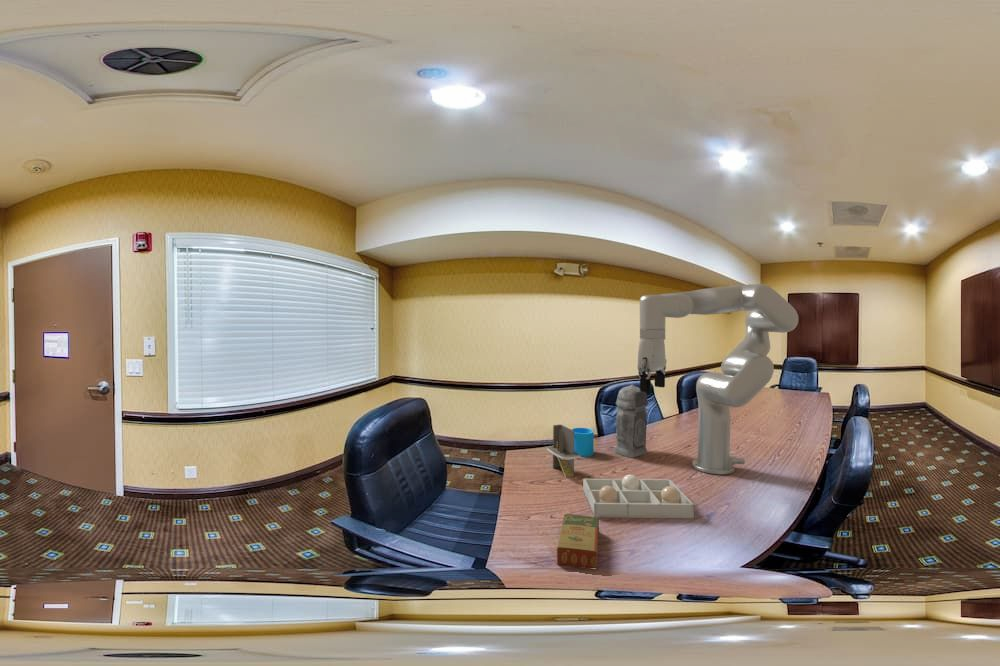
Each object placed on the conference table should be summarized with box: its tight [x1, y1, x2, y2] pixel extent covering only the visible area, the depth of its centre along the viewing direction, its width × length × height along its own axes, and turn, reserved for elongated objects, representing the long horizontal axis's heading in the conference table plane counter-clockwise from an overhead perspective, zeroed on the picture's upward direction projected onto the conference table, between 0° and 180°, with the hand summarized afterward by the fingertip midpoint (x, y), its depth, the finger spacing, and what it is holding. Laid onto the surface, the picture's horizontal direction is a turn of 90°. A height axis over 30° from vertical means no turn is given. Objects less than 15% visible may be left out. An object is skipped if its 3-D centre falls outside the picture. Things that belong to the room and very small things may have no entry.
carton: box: [556, 513, 600, 569], centre depth 100 cm, size 8×16×4 cm, turn 167°
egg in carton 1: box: [599, 486, 617, 503], centre depth 118 cm, size 5×5×6 cm
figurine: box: [613, 384, 649, 459], centre depth 165 cm, size 10×14×25 cm
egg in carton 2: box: [661, 486, 680, 504], centre depth 118 cm, size 5×5×6 cm
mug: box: [571, 427, 595, 457], centre depth 164 cm, size 12×8×8 cm
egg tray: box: [582, 478, 695, 519], centre depth 123 cm, size 25×17×4 cm
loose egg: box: [622, 474, 639, 490], centre depth 127 cm, size 5×5×6 cm
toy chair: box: [546, 424, 581, 479], centre depth 145 cm, size 20×25×15 cm
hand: (652, 389), depth 142 cm, fingers open, 9 cm apart
